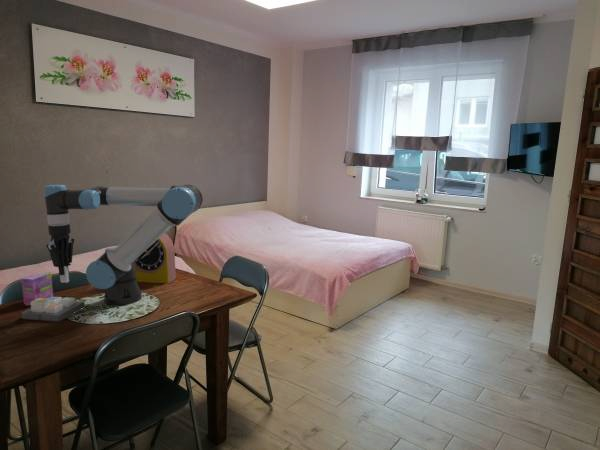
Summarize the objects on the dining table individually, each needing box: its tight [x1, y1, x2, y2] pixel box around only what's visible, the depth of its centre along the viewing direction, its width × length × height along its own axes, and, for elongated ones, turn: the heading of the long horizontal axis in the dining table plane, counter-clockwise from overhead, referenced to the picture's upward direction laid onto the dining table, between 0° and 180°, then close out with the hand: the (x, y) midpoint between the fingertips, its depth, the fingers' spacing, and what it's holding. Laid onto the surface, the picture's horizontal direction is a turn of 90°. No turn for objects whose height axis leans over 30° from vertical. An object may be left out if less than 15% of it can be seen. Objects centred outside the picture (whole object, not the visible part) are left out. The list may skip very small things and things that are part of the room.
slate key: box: [48, 296, 63, 305], centre depth 175 cm, size 4×4×4 cm
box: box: [20, 271, 54, 306], centre depth 184 cm, size 10×6×12 cm, turn 168°
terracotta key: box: [44, 303, 63, 313], centre depth 168 cm, size 4×4×4 cm
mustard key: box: [30, 298, 49, 312], centre depth 168 cm, size 4×4×4 cm
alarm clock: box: [135, 232, 177, 284], centre depth 214 cm, size 21×9×26 cm, turn 80°
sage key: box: [58, 297, 76, 307], centre depth 174 cm, size 4×4×4 cm
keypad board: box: [21, 300, 86, 323], centre depth 172 cm, size 16×15×2 cm
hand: (64, 282), depth 173 cm, fingers closed
